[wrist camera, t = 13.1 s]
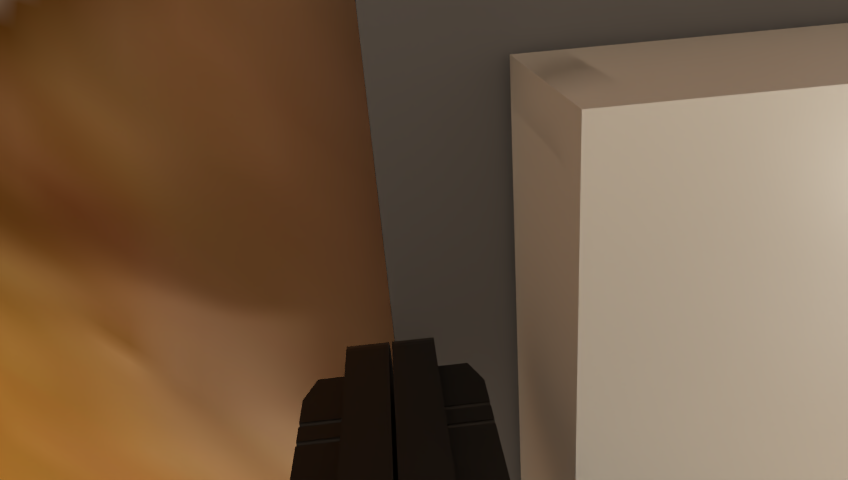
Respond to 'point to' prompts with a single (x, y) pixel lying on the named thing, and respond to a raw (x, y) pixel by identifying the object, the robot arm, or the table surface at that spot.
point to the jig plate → (490, 151)
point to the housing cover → (683, 257)
